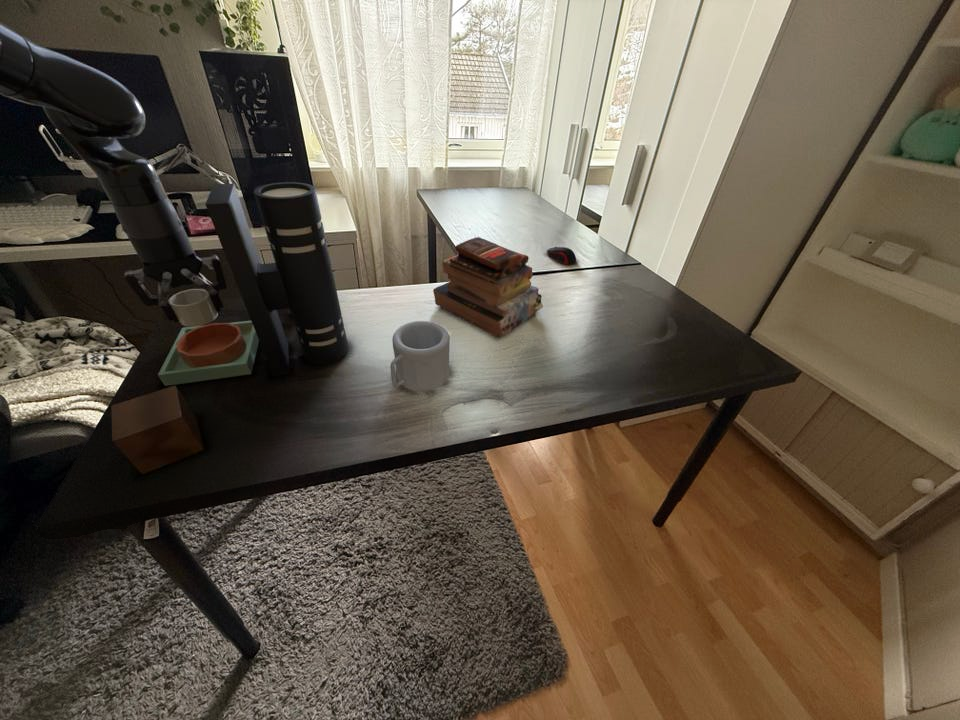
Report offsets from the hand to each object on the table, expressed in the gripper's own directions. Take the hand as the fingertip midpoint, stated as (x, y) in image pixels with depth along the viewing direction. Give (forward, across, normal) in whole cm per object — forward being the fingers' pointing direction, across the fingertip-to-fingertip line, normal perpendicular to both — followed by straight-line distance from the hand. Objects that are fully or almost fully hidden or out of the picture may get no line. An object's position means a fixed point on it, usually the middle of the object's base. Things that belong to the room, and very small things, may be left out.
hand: (197, 314), depth 71 cm
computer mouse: (+10, -101, +3) cm, 101 cm away
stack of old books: (+10, -59, +16) cm, 62 cm away
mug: (+10, -31, +29) cm, 44 cm away
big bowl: (+9, 0, 0) cm, 9 cm away
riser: (+10, +10, +21) cm, 25 cm away
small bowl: (+1, 0, 0) cm, 1 cm away
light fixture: (+10, -16, +10) cm, 21 cm away
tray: (+10, 0, 0) cm, 10 cm away
